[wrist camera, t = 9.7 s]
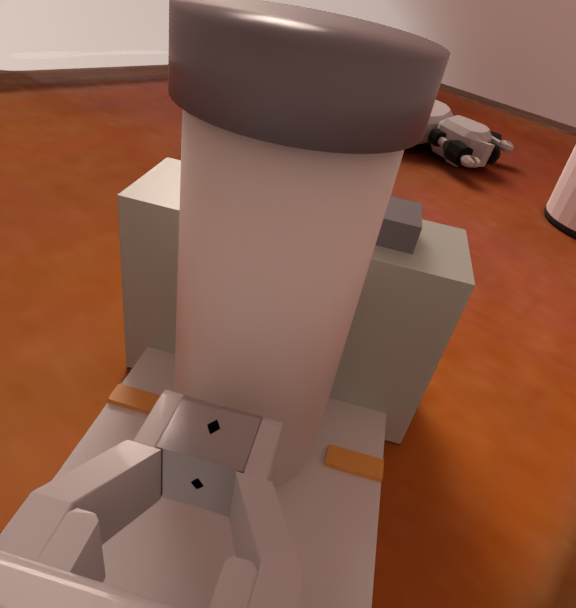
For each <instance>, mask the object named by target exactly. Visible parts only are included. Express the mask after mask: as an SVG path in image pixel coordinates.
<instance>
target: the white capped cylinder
mask: <svg viewBox="0 0 576 608" xmlns="http://www.w3.org/2000/svg"><path fill="white" fill-rule="evenodd" d="M449 55H450V52H449V51H448V50H447V49H446V48H444V47H443V46H441V45H439V44H437V43H435V42H433V41H430V40H428V39H426V38H423V37H420V36H418V35H415V34H412V33H409V32H406V31H402V30H399V29H396V28H392V27H389V26H385V25H381V24H378V23H374V22H370V21H366V20H362V19H358V18H353V17H349V16H345V15H340V14H336V13H331V12H326V11H321V10H316V9H311V8H305V7H300V6H294V5H288V4H281V3H276V2H269V1H262V0H170V2H169V73H168V91H169V95H170V97H171V99H172V100H173V101H174V102H175V103H176V104H177V105H178V106H179V107H180V108H182V143H181V176H180V209H179V243H178V276H177V309H176V343H175V376H174V392H176V393H180V394H183V395H187V396H190V397H193V398H197V399H200V400H203V401H206V402H209V403H213V404H216V405H219V406H222V407H224V406H225V407H229V408H233V409H236V410H240V411H244V412H247V413H251V414H255V415H259V416H262V417H265V418H268V419H272V420H275V421H279V422H282V423H283V428H282V432H281V436H280V441H279V445H278V449H277V453H276V458H275V462H274V466H273V470H272V474H271V477H270V481H271V482H273V485H274V487H275V486H277V485H280V484H282V483H284V482H286V481H288V480H289V479H291V478H292V477H294V476H295V475H296V474H298V473H299V472H300V471H301V470H302V469H303V468H304V466H305V465H306V463H307V462H308V461H309V458H310V456H311V454H312V452H313V449H314V445H315V442H316V439H317V435H318V432H319V429H320V426H321V422H322V419H323V416H324V412H325V409H326V406H327V403H328V399H329V396H330V393H331V389H332V386H333V383H334V380H335V376H336V373H337V370H338V366H339V363H340V360H341V357H342V353H343V350H344V347H345V343H346V340H347V337H348V334H349V330H350V327H351V324H352V320H353V317H354V314H355V311H356V307H357V304H358V301H359V297H360V294H361V291H362V288H363V284H364V281H365V278H366V274H367V271H368V268H369V265H370V261H371V258H372V255H373V251H374V248H375V245H376V242H377V238H378V235H379V232H380V228H381V225H382V222H383V219H384V215H385V212H386V209H387V205H388V202H389V199H390V196H391V192H392V189H393V186H394V182H395V179H396V176H397V173H398V169H399V166H400V163H401V159H402V156H403V153H404V150H405V149H408V148H411V147H413V146H415V145H417V144H418V143H420V141H421V140H422V139H423V136H424V133H425V130H426V127H427V124H428V121H429V118H430V115H431V112H432V108H433V105H434V102H435V99H436V96H437V93H438V90H439V87H440V84H441V81H442V77H443V74H444V71H445V68H446V65H447V61H448V59H449Z"/></svg>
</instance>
